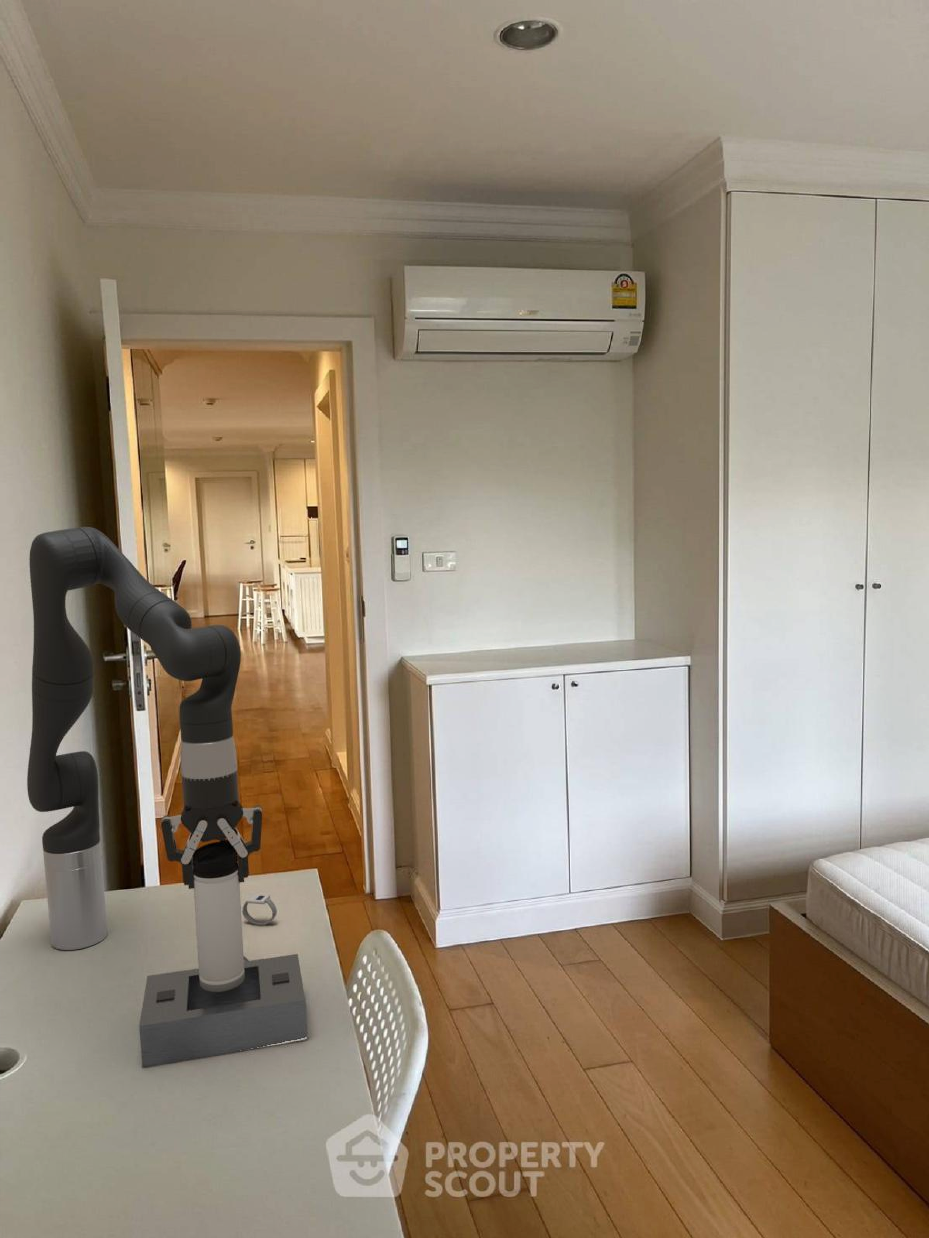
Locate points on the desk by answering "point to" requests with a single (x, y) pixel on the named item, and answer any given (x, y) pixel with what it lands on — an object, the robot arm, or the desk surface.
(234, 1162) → the desk surface
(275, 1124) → the desk surface
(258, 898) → the wristwatch
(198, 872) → the travel mug
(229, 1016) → the grey slotted block
